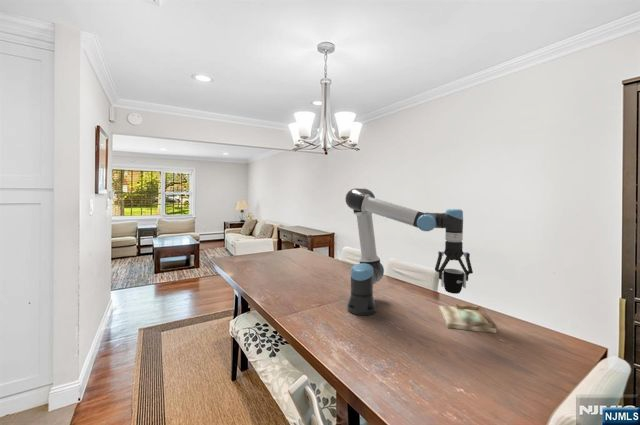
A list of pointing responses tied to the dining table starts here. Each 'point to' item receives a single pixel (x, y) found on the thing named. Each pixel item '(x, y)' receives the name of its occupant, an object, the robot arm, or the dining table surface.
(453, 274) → the mug
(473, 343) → the dining table surface
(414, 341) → the dining table surface
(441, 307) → the board
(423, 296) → the dining table surface
